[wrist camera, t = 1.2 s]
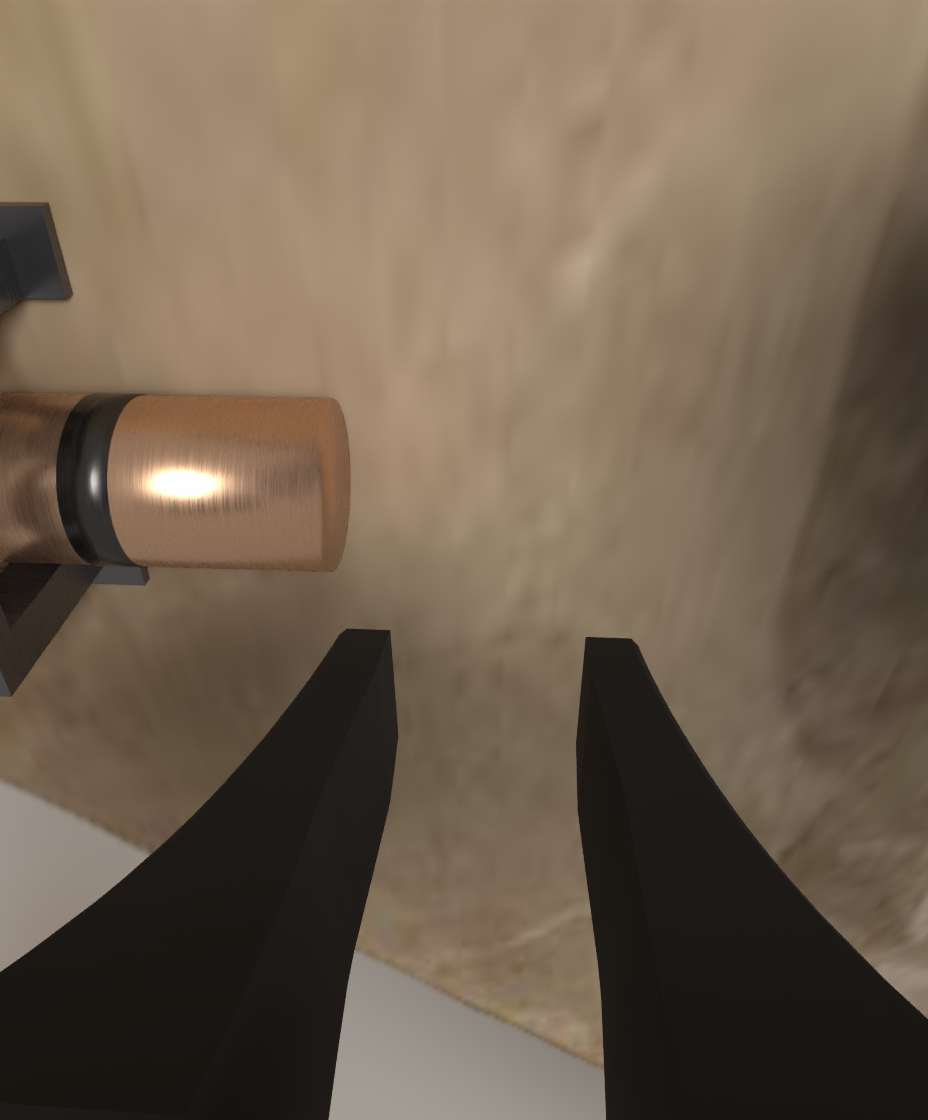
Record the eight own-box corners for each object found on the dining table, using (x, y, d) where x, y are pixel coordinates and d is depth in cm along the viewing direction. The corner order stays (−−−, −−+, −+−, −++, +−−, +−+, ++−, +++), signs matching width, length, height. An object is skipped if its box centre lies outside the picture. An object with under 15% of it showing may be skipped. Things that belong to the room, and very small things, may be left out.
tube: (332, 359, 18) (303, 499, 16) (357, 476, 21) (335, 606, 19) (-91, 353, 18) (-174, 487, 16) (-8, 467, 21) (-69, 593, 19)
